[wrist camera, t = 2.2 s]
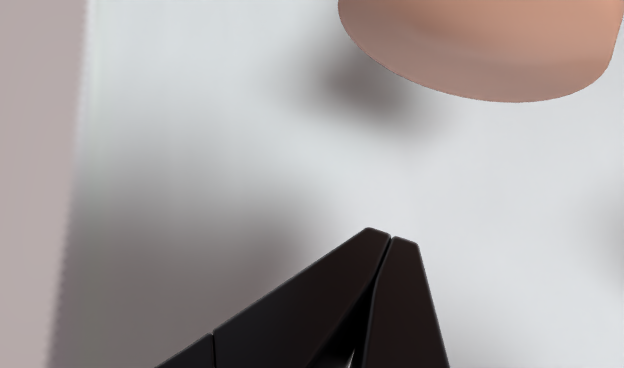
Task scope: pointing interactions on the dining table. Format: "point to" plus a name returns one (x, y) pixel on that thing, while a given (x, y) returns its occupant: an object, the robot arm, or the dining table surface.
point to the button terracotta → (489, 43)
